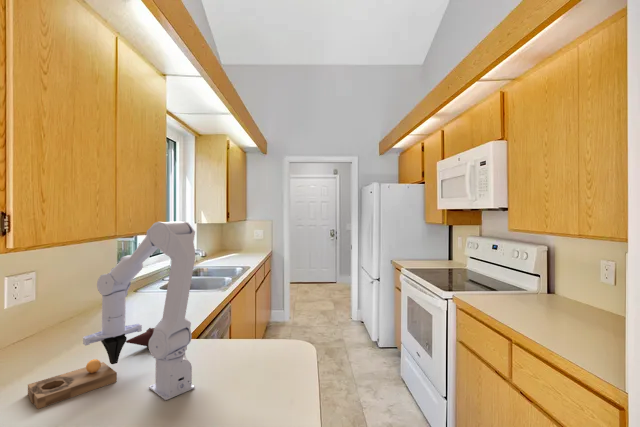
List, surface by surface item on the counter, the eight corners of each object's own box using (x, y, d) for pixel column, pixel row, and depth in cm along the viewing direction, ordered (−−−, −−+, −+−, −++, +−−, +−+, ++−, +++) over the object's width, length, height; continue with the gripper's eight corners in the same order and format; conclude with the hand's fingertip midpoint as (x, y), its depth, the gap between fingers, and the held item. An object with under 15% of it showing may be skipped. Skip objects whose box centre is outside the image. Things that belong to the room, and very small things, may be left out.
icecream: (129, 337, 108) (178, 331, 118) (125, 325, 114) (172, 320, 123) (126, 357, 109) (175, 349, 119) (122, 344, 115) (169, 338, 124)
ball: (102, 371, 93) (102, 359, 93) (88, 376, 91) (88, 363, 91) (98, 368, 96) (98, 356, 96) (84, 372, 93) (84, 360, 93)
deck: (116, 381, 93) (116, 372, 93) (36, 409, 80) (36, 399, 80) (103, 370, 100) (103, 361, 100) (26, 394, 86) (26, 384, 86)
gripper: (134, 307, 105) (134, 351, 105) (79, 318, 94) (79, 367, 94) (144, 311, 101) (144, 357, 101) (87, 323, 89) (87, 375, 90)
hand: (113, 362), depth 97 cm, fingers closed
